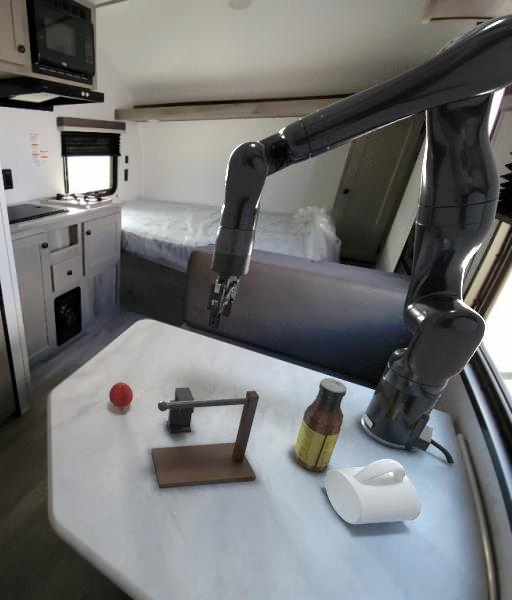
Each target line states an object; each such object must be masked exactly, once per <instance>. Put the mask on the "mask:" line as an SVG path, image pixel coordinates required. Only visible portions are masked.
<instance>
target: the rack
mask: <svg viewBox="0 0 512 600" xmlns="http://www.w3.org/2000/svg"><path fill="white" fill-rule="evenodd" d="M257 392H258V391H256V390H246V394H245V397H231V398H229V397H228V398H214V399H198V400H195V401H180V402H170V401H165V400H161V401H159V402H158V403H157V409H158V410H159V411H160V412H166V411H167V410H169V409H180V408H194V409H195V408H211V407H224V406H226V407H227V406H239V405H240V406H241V405H243V406H242V410H241V411H242V412H241V416H240V420H239V424H238V429H237V433H236V437H235V442H221V443H210V444H209V443H208V444H206V443H205V444H195V445H193V444H192V445H180V446H168V447H167V446H166V447H153V448H151V455H152V461H153V465H154V470H155V474H156V479H157V483H158V487H159V489H163V488H175V487H186V486H188V487H189V486H200V485H212V484H225V483H237V482H238V483H240V482H251V481H256V478H257V476H256V473H255V471H254V470H253V467H252V466H251V464H250V462H249V460H248V458H247V455H246V452H247V448H248V444H249V440H250V435H251V432H252V427H253V423H254V419H255V416H256V412H257V408H258V404H259V400H260V395H259V394H258V393H257Z"/></svg>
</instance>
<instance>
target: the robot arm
mask: <svg viewBox="0 0 512 600" xmlns="http://www.w3.org/2000/svg"><path fill="white" fill-rule="evenodd" d="M511 85H512V13H508V14H504V15H500V16H496V17H493V18H491V19H488V20H486V21H484V22H481V23H480V24H477V25H475V26H474V27H472V28H469V29H467V30H465V31H464V32H462V33H460V34H459V35H457V36H455V37H453V38H452V39H450V40H449V41H447V43H445V45H443V46H442V47H441V48H440V50H438V52H437V53H436V54H435V55H434V56H432V57H431V58H429V59H428V60H426V61H423V62H422V63H420V64H418V65H416V66H414V67H413V68H410V69H408V70H406V71H404V72H403V73H400V74H397V75H396V76H394V77H391V78H390V79H388V80H385V81H383V82H380V83H379V84H375V85H374V86H371V87H369V88H366V89H364V90H362V91H359V92H356V93H354V94H352V95H349V96H346V97H344V98H342V99H340V100H337V101H335V102H333V103H330V104H328V105H326V106H323V107H321V108H319V109H317V110H315V111H313V112H310V113H309V114H307V115H304V116H303V117H300V118H297V119H296V120H294V121H292V122H291V123H289V124H287V125H286V126H284V127H283V128H282V129H281V130H280V131H278V132H276V133H274V134H271V135H269V136H267V137H265V138H262V139H261V140H258V141H256V140H251V141H250V140H249V141H245V142H243V143H241V144H239V145H238V146H237V147H236V148H234V150H233V151H232V152H231V154H230V156H229V159H228V163H227V168H226V176H225V188H224V200H223V204H222V208H221V212H220V220H219V224H218V225H219V226H218V230H217V231H216V236H215V240H214V247H213V253H212V259H211V265H210V269H211V271H212V272H214V273H216V274H217V275H218V278H217V279H216V280H215V281H212V282H211V287H210V291H209V297H208V301H207V307H206V310H207V311H209V312H210V313H209V317H208V324H207V325H208V327H209V328H211V329H215V330H218V329H219V328H220V326H221V320H222V317H225V318H229V317H231V315H232V309H233V305H234V302H235V301H236V298H237V297H238V296H239V289H240V283H241V278H242V277H244V276H247V275H248V274H249V271H250V266H251V261H252V258H253V257H252V256H253V251H254V247H255V242H256V232H257V231H256V229H257V227H258V222H259V216H260V208H261V199H262V196H263V191H264V189H265V184H266V180H267V177H270V176H272V175H274V174H276V173H278V172H280V171H283V170H284V169H287V168H289V167H290V166H293V165H297V164H300V163H303V162H306V161H308V160H310V159H314V158H316V157H319V156H321V155H324V154H326V153H328V152H330V151H332V150H335V149H337V148H340V147H343V146H344V145H346V144H348V143H351V142H353V141H356V140H358V139H360V138H363V137H364V136H367V135H369V134H372V133H373V132H376V131H378V130H381V129H383V128H385V127H388V126H390V125H392V124H395V123H398V122H400V121H402V120H405V119H408V118H410V117H413V116H415V115H418V114H421V113H424V112H425V117H426V118H425V126H426V128H425V131H426V132H425V133H426V134H425V135H426V136H425V147H424V153H423V154H424V155H423V161H422V168H421V176H420V183H419V184H420V186H419V192H418V198H417V207H416V217H415V231H414V241H413V242H414V243H413V256H412V269H411V270H412V271H411V277H410V280H409V284H408V289H407V291H406V292H407V293H406V296H405V299H404V304H403V308H402V309H403V310H402V320H403V323H404V326H405V327H406V328H407V329H408V330H409V331H410V333H411V334H412V335H413V336H412V338H411V340H410V342H409V344H408V346H407V348H406V347H405V348H404V347H403V348H398V349H395V350H394V351H393V352H392V354H391V355H390V357H389V359H388V362H387V364H386V366H385V368H384V371H383V372H382V375H381V377H380V379H379V382H378V383H377V385H376V388H375V390H374V392H373V395H372V397H371V399H370V401H369V403H368V405H367V408H366V410H365V412H363V415H362V417H361V419H360V425H361V428H362V429H363V431H364V432H365V433H366V434H367V435H368V436H369V437H371V438H372V439H373V440H374V441H377V442H378V443H380V444H381V445H384V446H386V447H390V448H392V449H398V450H404V451H406V452H409V453H410V452H412V450H413V449H414V448H416V449H418V450H420V451H423V452H427V450H428V448H429V447H430V446H431V445H432V446H433V447H434V448H436V449H437V450H439V451H440V452H441V453H442V454H443V455H444V457H445V459H446V462H447V464H449V465H453V464H455V461H454V458H453V456H452V455H451V453H450V452H449V450H447V449H446V448H445V447H444V446H443V445H441V444H439V443H438V442H437V441H436V440H435V439H433V438H432V437H433V430H434V428H433V427H431V426H429V425H428V423H429V421H430V418H431V413H432V411H433V409H434V408H435V406H436V404H437V402H438V400H439V399H440V397H441V396H442V394H443V392H444V390H445V388H446V387H447V385H448V383H449V381H450V380H451V379H452V378H454V377H455V376H457V375H459V374H460V373H461V372H462V371H463V370H464V368H466V366H467V364H468V363H469V361H470V360H471V359H472V357H473V356H474V354H475V353H476V351H477V350H478V348H479V347H480V345H481V343H482V342H483V340H484V338H485V335H486V331H487V324H486V321H485V319H484V318H483V317H482V316H481V315H480V314H479V313H478V312H477V311H475V310H474V309H472V308H471V307H470V306H468V305H467V304H466V303H464V302H463V296H462V293H463V292H462V291H463V281H464V275H465V274H464V273H465V269H466V267H467V266H468V263H469V261H470V259H472V257H473V255H474V254H475V253H476V252H477V251H478V250H479V249H480V247H481V246H482V245H483V243H484V242H485V241H486V239H487V237H488V236H489V235H490V232H491V230H492V228H493V225H494V222H495V219H496V218H495V217H496V215H497V208H498V203H499V197H500V191H501V178H500V173H499V169H498V165H497V161H496V158H495V154H494V151H493V147H492V144H491V139H490V133H489V125H490V123H489V122H490V115H491V111H492V105H493V100H494V96H495V93H497V92H499V91H501V90H503V89H506V88H508V86H511ZM216 303H217V305H216Z"/></svg>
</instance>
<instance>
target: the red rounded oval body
mask: <svg viewBox="0 0 512 600" xmlns="http://www.w3.org/2000/svg"><path fill="white" fill-rule="evenodd" d="M108 395H109V396H108V397H109V398H108V399H109V401H110V402H111V404H112V405H113V406H115V407H116V408H119V409H122V408H126V407H128V406H130V405H131V403H132V401H133V399H134V393H133V389H132V388H131V386H130V385H129V384H127V383H126V382H124V381H123V380H122V381H119V382H116V383H114V385H112V387H111V388H110V390H109V394H108Z"/></svg>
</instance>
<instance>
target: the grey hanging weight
mask: <svg viewBox="0 0 512 600" xmlns="http://www.w3.org/2000/svg"><path fill="white" fill-rule="evenodd" d="M180 401H196V400H195V398H194V395H193V393H192V391H191V389H190V387H189V386H186V387H185V386H184V387H175V390H174V400H173V399H172V400H171V399H170V400H169V402H180ZM194 412H195V408H180V409H168V417H167V420H166V426H167V430H168V432H169V434H179V433H180V434H181V433H182V434H183V433H191V432H192V428H191V422H192V417H193V414H194Z"/></svg>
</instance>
